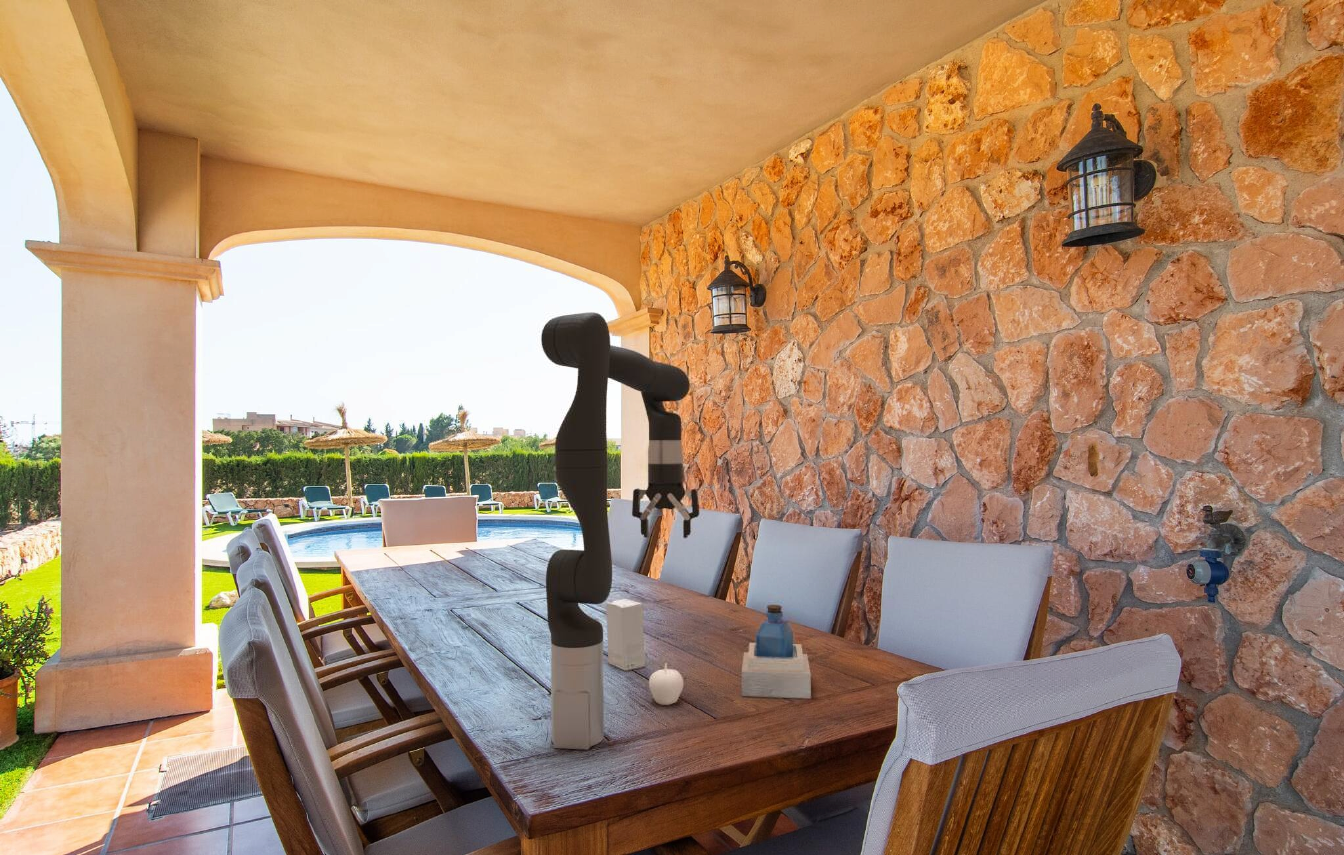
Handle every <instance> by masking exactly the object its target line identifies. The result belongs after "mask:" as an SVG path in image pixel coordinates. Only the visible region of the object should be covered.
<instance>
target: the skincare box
mask: <svg viewBox="0 0 1344 855" xmlns="http://www.w3.org/2000/svg"><path fill="white" fill-rule="evenodd" d="M605 607H606V631H607V652H608V653H607V654H608V664H610V665H612V666H613V667H616V668H619V669H621V670H622V671H630V670H634V669H635V670H636V669H641V668H645V667H646V650H645V634H644V633H645V632H644V615H643V613H644V612H643V611H644V610H643V603H642V602H638V601H635V600H632V599H627V598H622V599H617V600H616V599H615V600H612V601H607V602H605Z"/></svg>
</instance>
